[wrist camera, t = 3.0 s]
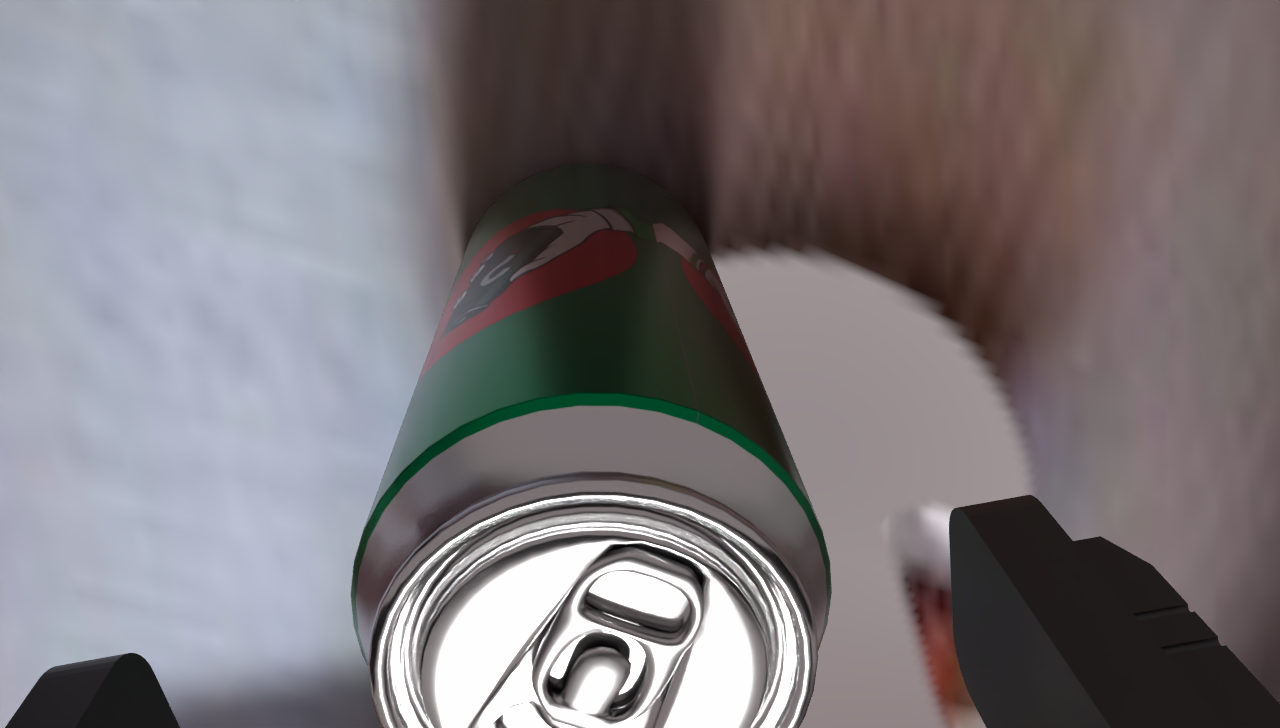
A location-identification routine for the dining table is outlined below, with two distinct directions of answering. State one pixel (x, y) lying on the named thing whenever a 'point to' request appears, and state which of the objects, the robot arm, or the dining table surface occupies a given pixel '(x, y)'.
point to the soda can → (590, 489)
